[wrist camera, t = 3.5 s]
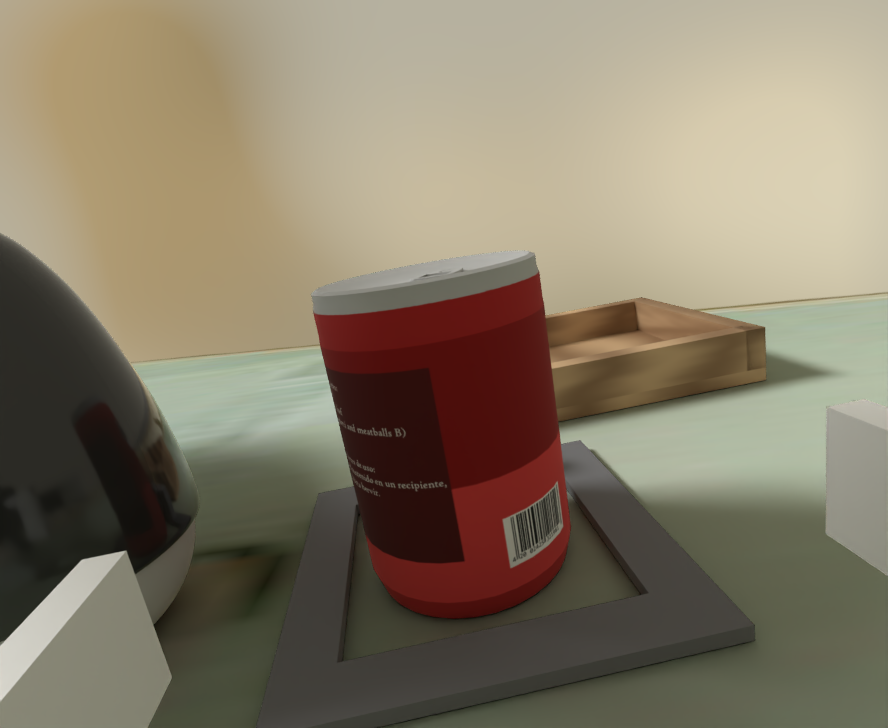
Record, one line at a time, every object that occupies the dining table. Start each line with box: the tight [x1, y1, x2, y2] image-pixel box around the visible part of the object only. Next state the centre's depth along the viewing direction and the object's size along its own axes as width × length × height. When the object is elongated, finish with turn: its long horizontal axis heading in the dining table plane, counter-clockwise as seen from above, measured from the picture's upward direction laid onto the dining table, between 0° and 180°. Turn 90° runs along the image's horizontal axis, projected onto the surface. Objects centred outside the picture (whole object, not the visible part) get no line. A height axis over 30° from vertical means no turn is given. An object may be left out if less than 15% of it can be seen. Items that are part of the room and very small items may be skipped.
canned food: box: [311, 251, 571, 619], centre depth 20 cm, size 8×8×11 cm
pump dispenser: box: [0, 233, 200, 646], centre depth 18 cm, size 10×10×15 cm
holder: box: [256, 440, 755, 728], centre depth 20 cm, size 14×14×4 cm
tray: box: [545, 297, 766, 422], centre depth 39 cm, size 20×16×3 cm
